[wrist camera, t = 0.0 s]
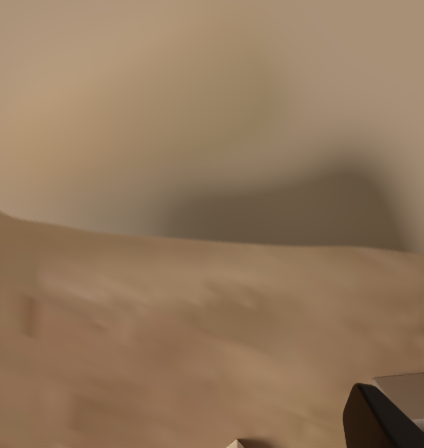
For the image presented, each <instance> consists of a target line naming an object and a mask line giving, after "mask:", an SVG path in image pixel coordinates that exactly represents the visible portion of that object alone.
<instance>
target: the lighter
mask: <svg viewBox="0 0 424 448" xmlns="http://www.w3.org/2000/svg"><path fill="white" fill-rule="evenodd" d="M372 385H374V386H376V387H377V388H378V389H379V390H380V391H381V392H382V393H384V394H385V395H386V396H387V397H388V398H389V399H390V400H391V401H392V402H393V403H394V404H395V405H396V406H397V407H398V408H399V409H400V410H401V411H402V412H403V413H404V414H405V415H406V416H408V417H409V418H410V419H411V420H412V421H413V422H414V423H415V424H416V425H417V426H418V427H419V428H420V429H421V430H422V431H423V432H424V373H420V374H409V375H399V376H389V377H378V378H374V379H373V380H372Z"/></svg>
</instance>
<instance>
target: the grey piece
mask: <svg viewBox="0 0 424 448" xmlns="http://www.w3.org/2000/svg"><path fill="white" fill-rule="evenodd" d="M226 448H244V447H243V446H242V445H241V443H240V442H239V441H238V440H237V439H236V440H235V441H234V442H233V443H231V444H230V445H229V446H227V447H226Z"/></svg>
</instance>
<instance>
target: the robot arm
mask: <svg viewBox="0 0 424 448" xmlns="http://www.w3.org/2000/svg"><path fill="white" fill-rule="evenodd" d="M343 426H344V432H345V439H346V446H347V448H424V432H423V431H422V430H421V429H420V428H419V427H418V426H417V425H416V424H415V423H414V422H413V421H412V420H411V419H410V418H409V417H408V416H406V415H405V414H404V413H403V412H402V411H401V410H400V409H399V408H398V407H397V406H396V405H395V404H394V403H393V402H392V401H391V400H390V399H389V398H388V397H387V396H386V395H385V394H384V393H382V392H381V391H380V390H379V389H378V388H377V387H376V386H374V385H369V384H363V383H356V384H354V386H353V387H352V390H351V392H350V395H349V398H348V400H347V403H346V406H345V408H344V411H343Z"/></svg>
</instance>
